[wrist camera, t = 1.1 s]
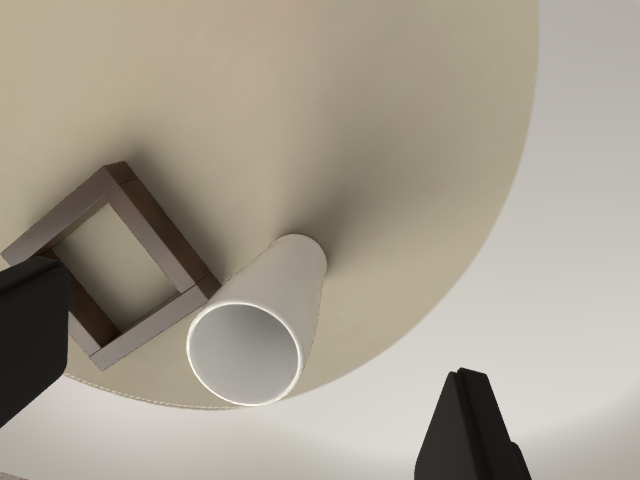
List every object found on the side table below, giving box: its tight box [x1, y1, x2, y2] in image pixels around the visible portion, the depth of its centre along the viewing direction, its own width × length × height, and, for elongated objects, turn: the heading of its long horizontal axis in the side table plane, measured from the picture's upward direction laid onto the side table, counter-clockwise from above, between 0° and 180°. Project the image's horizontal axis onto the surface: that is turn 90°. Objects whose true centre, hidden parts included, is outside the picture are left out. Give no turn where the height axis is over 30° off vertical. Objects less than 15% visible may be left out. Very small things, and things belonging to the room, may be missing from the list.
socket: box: [1, 161, 221, 371], centre depth 40 cm, size 14×14×3 cm
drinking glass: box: [186, 234, 327, 406], centre depth 31 cm, size 7×7×15 cm
